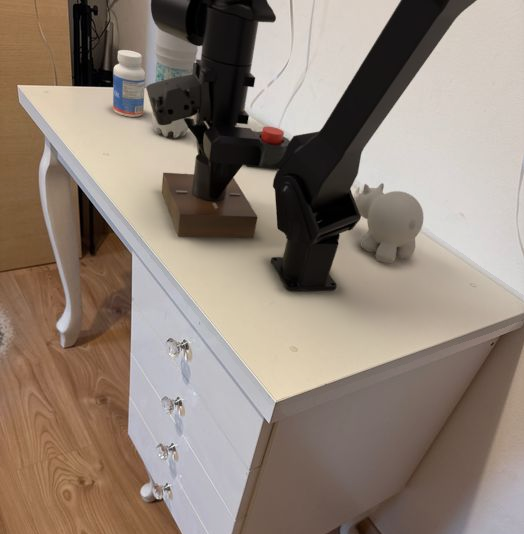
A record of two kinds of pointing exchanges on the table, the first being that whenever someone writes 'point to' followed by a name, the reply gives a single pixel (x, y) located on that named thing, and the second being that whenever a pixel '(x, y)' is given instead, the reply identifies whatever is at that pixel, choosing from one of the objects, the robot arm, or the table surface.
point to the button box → (272, 151)
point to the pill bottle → (128, 84)
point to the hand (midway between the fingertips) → (209, 190)
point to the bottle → (173, 71)
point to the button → (272, 135)
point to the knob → (203, 179)
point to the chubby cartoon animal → (389, 222)
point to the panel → (207, 210)
